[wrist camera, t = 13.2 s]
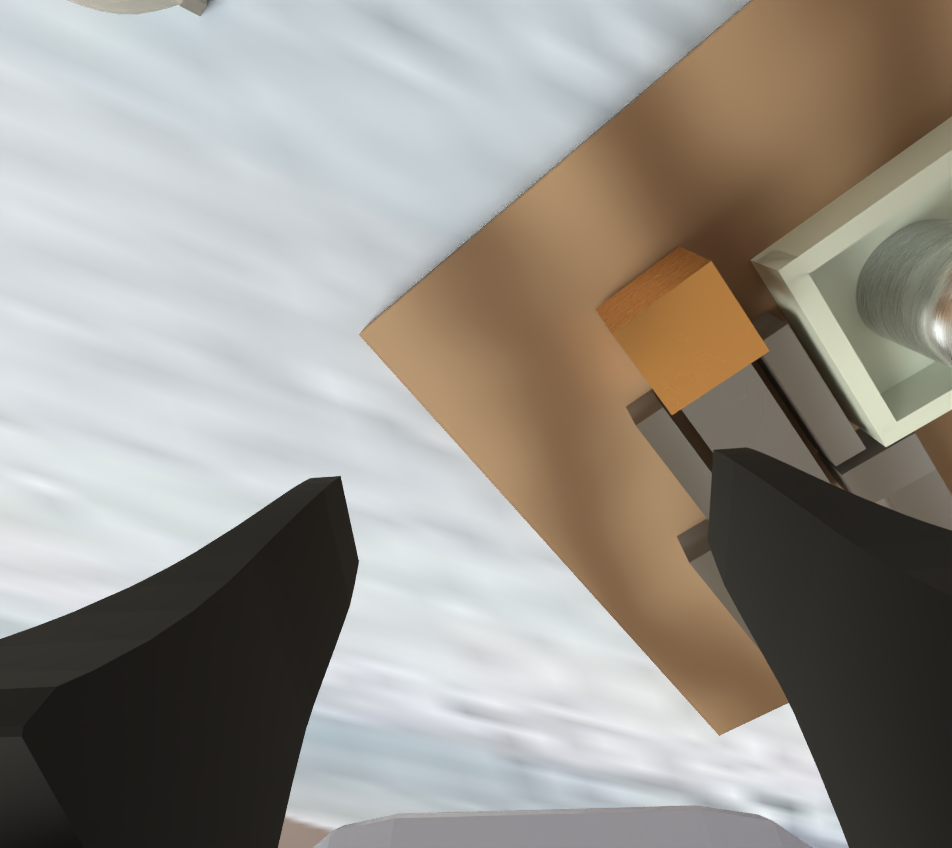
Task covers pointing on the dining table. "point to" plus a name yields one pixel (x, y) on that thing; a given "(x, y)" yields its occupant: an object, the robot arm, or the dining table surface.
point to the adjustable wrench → (142, 5)
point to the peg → (911, 289)
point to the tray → (834, 290)
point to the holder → (628, 256)
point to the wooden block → (703, 357)
